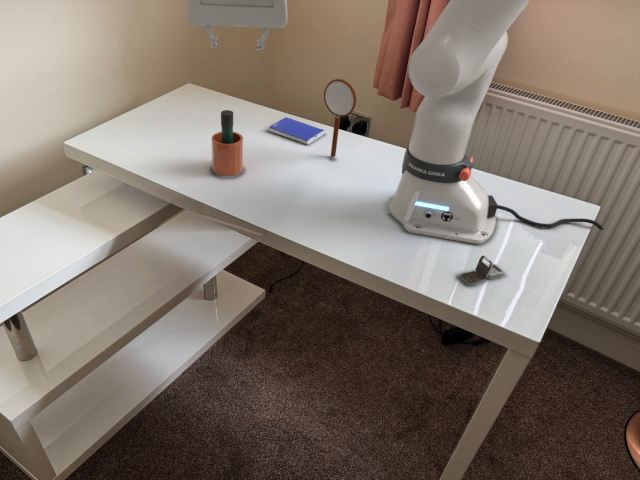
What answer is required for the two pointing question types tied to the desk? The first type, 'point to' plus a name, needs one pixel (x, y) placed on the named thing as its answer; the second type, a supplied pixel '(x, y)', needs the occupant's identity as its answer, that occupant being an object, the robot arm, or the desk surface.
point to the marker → (227, 126)
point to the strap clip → (482, 272)
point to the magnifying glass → (339, 104)
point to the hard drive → (296, 130)
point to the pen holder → (227, 155)
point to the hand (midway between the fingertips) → (237, 48)
